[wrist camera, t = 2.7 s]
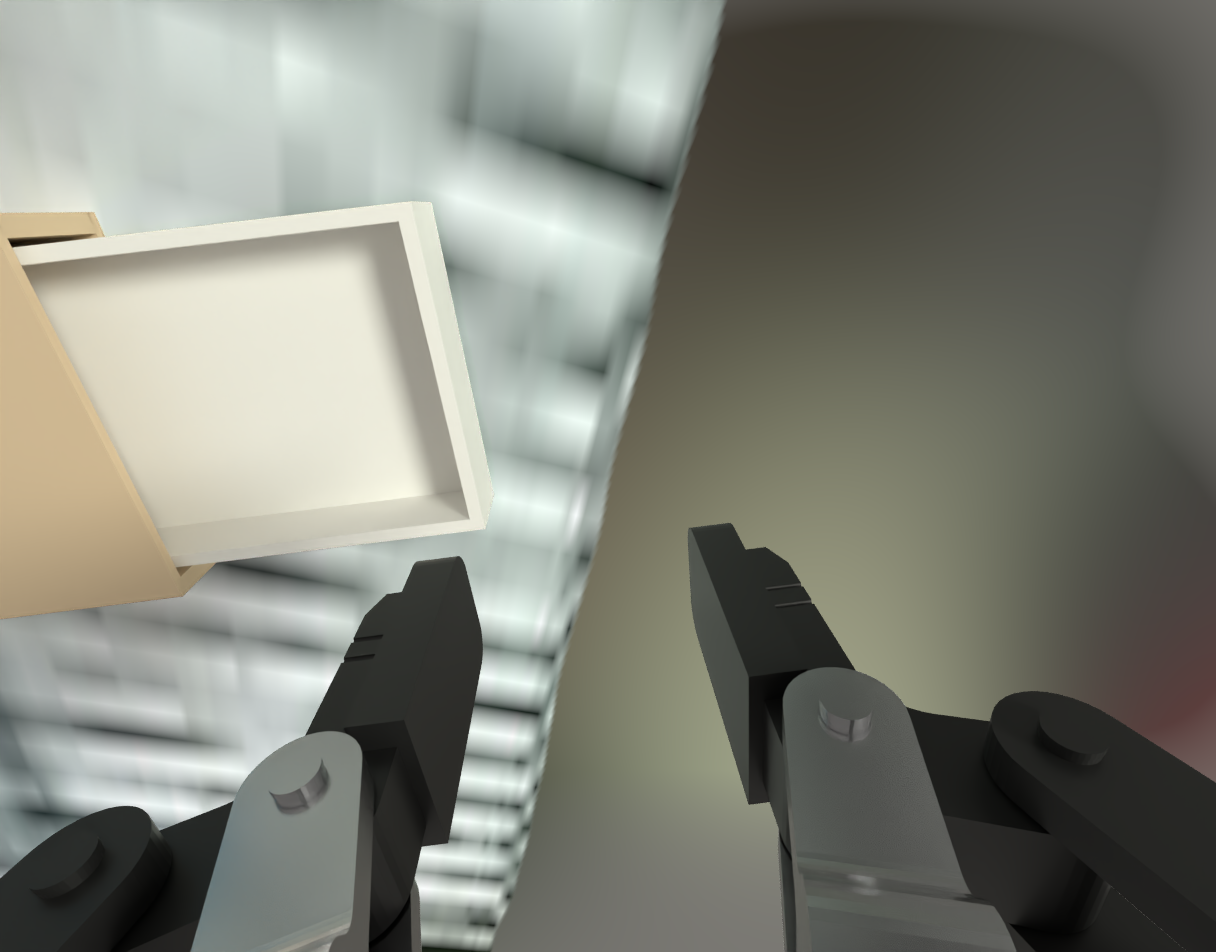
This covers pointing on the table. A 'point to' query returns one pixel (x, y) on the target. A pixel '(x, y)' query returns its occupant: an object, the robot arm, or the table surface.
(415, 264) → the tray
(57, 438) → the mailer sleeve
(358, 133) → the table surface
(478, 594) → the table surface
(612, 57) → the table surface
